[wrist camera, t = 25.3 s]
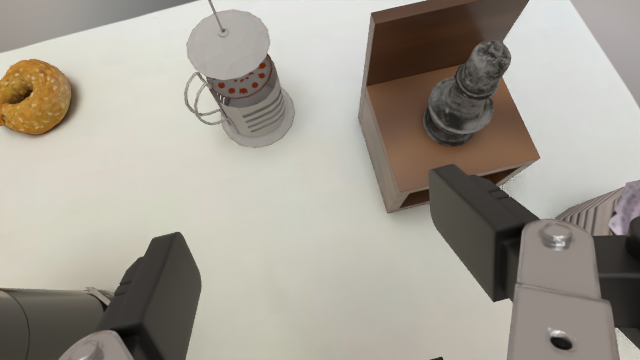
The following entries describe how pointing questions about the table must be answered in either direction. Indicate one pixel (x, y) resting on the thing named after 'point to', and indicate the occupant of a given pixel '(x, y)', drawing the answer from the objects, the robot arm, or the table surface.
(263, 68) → the french press
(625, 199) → the can
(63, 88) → the bagel
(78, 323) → the robot arm
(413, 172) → the l-shaped wooden block
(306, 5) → the table surface
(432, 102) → the chess piece
